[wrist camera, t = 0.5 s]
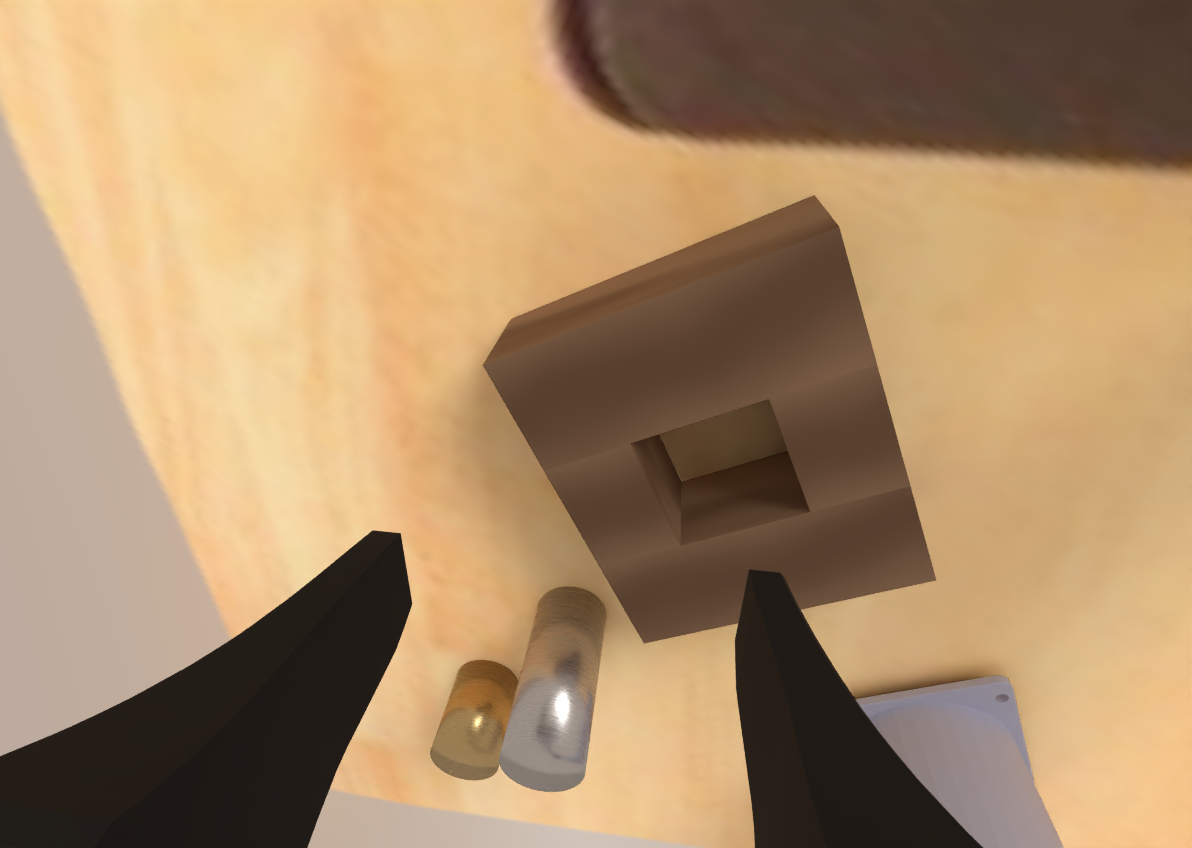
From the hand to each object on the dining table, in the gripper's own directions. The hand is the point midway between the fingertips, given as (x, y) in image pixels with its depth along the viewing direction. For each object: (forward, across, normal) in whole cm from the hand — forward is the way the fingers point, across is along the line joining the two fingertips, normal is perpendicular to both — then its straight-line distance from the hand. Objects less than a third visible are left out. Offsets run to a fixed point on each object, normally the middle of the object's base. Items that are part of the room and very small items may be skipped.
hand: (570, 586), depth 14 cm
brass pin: (+10, +6, +17) cm, 21 cm away
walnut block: (+10, -4, +2) cm, 11 cm away
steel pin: (+10, +1, +12) cm, 16 cm away
